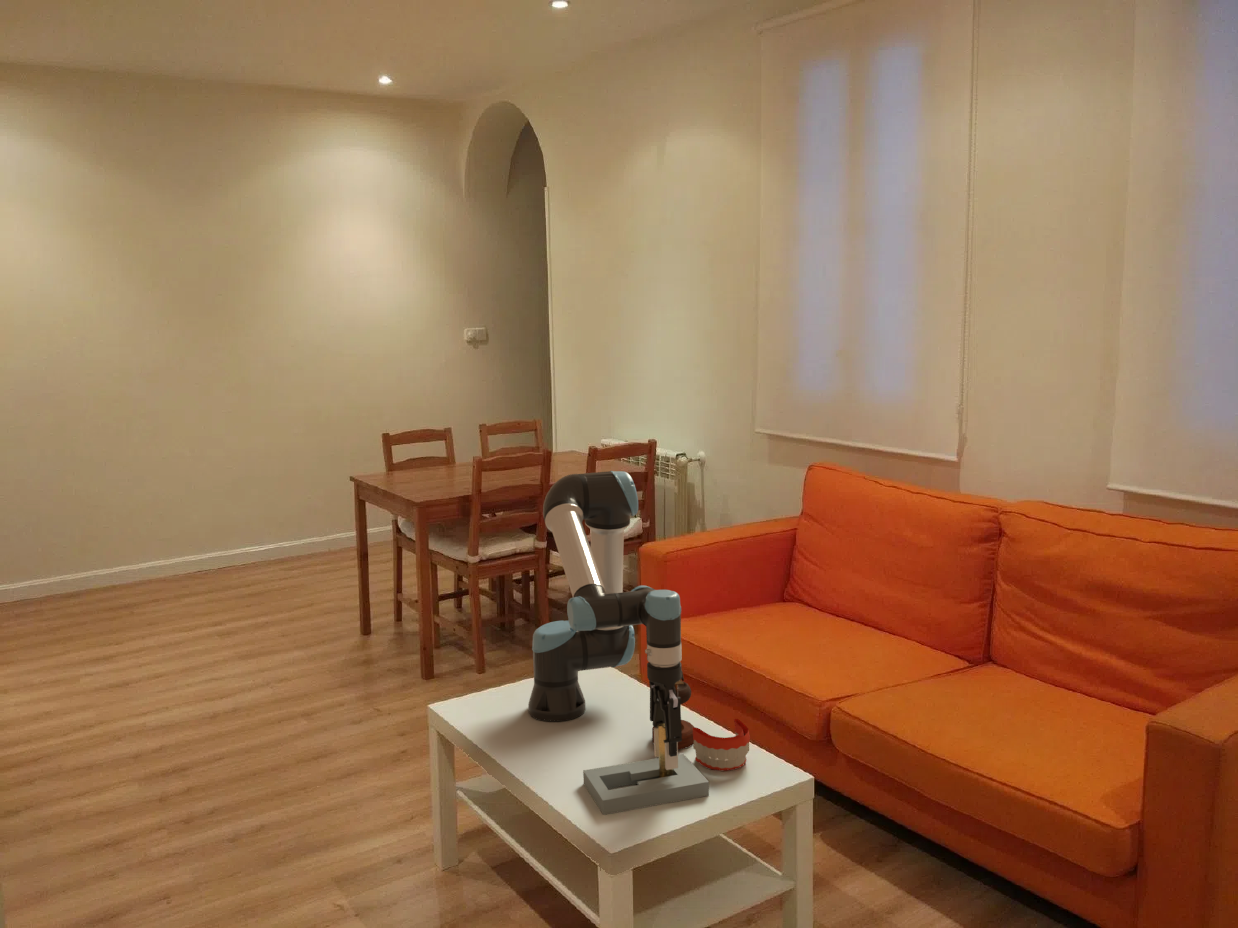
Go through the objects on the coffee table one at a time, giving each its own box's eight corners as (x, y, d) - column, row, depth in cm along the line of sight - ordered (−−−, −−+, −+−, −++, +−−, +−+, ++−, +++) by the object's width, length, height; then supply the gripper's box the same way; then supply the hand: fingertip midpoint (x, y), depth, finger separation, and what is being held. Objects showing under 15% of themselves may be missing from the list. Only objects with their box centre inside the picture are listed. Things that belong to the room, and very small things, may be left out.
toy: (712, 778, 228) (712, 744, 227) (691, 760, 238) (691, 727, 236) (760, 767, 233) (760, 734, 232) (738, 749, 242) (737, 718, 241)
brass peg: (650, 782, 227) (648, 723, 225) (673, 778, 228) (672, 719, 226) (658, 793, 221) (657, 732, 219) (682, 789, 223) (681, 728, 221)
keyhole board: (583, 783, 227) (583, 770, 226) (683, 766, 234) (683, 753, 234) (603, 814, 213) (602, 800, 212) (708, 795, 220) (708, 781, 219)
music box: (708, 746, 244) (700, 668, 241) (667, 759, 240) (659, 680, 237) (679, 723, 258) (672, 649, 255) (640, 735, 254) (632, 660, 250)
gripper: (633, 650, 228) (636, 746, 232) (663, 678, 210) (665, 783, 214) (664, 646, 231) (666, 741, 234) (696, 673, 213) (698, 777, 216)
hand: (666, 761), depth 224 cm, fingers open, 6 cm apart
